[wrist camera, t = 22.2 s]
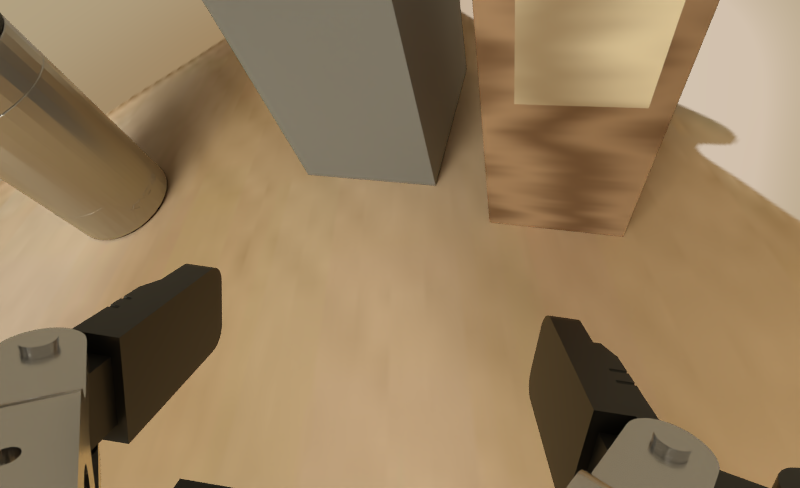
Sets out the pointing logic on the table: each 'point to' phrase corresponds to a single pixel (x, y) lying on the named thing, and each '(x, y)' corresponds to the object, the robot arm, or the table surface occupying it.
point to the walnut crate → (572, 134)
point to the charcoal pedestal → (354, 79)
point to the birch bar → (591, 51)
